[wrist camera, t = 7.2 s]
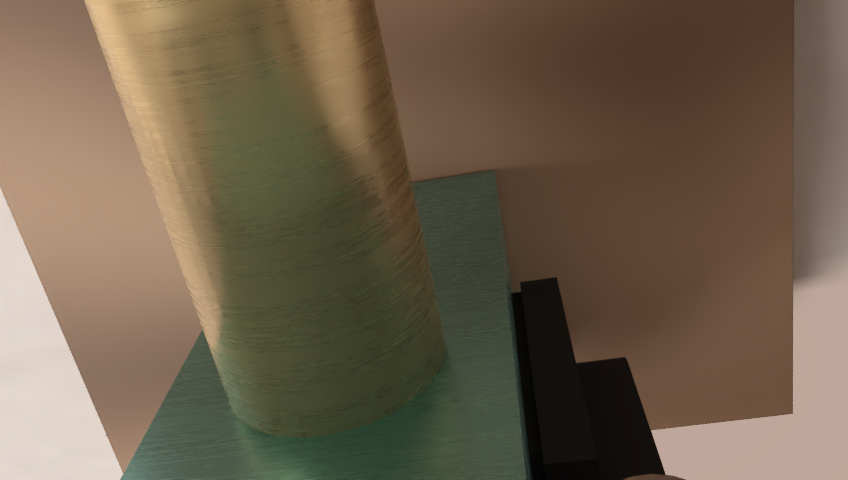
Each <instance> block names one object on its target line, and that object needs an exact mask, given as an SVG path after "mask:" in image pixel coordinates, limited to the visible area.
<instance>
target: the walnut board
mask: <svg viewBox="0 0 848 480" xmlns="http://www.w3.org/2000/svg"><path fill="white" fill-rule="evenodd" d="M374 1H375V6H376V10H377V15H378V20H379V25H380V30H381V34H382V39H383V44H384V49H385V54H386V58H387V63H388V68H389V73H390V78H391V83H392V87H393V92H394V97H395V102H396V107H397V111H398V116H399V121H400V126H401V131H402V135H403V140H404V145H405V150H406V155H407V159H408V164H409V169H410V174H411V179H412V183H416V182H422V181H429V180H435V179H441V178H448V177H454V176H460V175H466V174H473V173H479V172H485V171H492V170H495V176H496V182H497V188H498V195H499V201H500V207H501V214H502V220H503V226H504V232H505V239H506V245H507V251H508V258H509V264H510V270H511V277H512V283H513V289H514V293H516V292H521V287H520V282H525V281H532V280H539V279H546V278H553V277H557V280H558V285H559V289H560V294H561V298H562V302H563V307H564V311H565V316H566V320H567V325H568V329H569V334H570V338H571V342H572V347H573V351H574V356H575V360H576V363H581V362H589V361H596V360H604V359H612V358H620V357H625V358H626V359H627V361H628V364H629V367H630V370H631V373H632V376H633V379H634V382H635V385H636V388H637V391H638V394H639V397H640V400H641V403H642V406H643V409H644V412H645V415H646V418H647V421H648V424H649V427H650V430H656V429H665V428H673V427H682V426H691V425H698V424H708V423H716V422H725V421H734V420H742V419H751V418H760V417H768V416H777V415H784V414H792V413H793V86H794V0H374ZM0 188H1V190H2V192H3V194H4V197H5V199H6V201H7V204H8V206H9V208H10V211H11V213H12V215H13V218H14V220H15V222H16V225H17V227H18V229H19V232H20V234H21V236H22V239H23V241H24V243H25V246H26V248H27V250H28V253H29V255H30V257H31V260H32V262H33V264H34V267H35V269H36V271H37V274H38V276H39V278H40V281H41V283H42V285H43V288H44V290H45V292H46V295H47V297H48V299H49V302H50V304H51V306H52V309H53V311H54V313H55V316H56V318H57V320H58V323H59V325H60V327H61V330H62V332H63V334H64V337H65V339H66V341H67V344H68V346H69V348H70V351H71V353H72V355H73V357H74V360H75V362H76V364H77V367H78V369H79V371H80V374H81V376H82V378H83V381H84V383H85V385H86V388H87V390H88V392H89V395H90V397H91V399H92V402H93V404H94V406H95V409H96V411H97V413H98V416H99V418H100V420H101V423H102V425H103V427H104V430H105V432H106V434H107V437H108V439H109V441H110V444H111V446H112V448H113V451H114V453H115V455H116V458H117V460H118V462H119V465H120V467H121V469H122V472H123V474H124V472H125V470H126V468H127V467H128V465H129V463H130V461H131V459H132V457H133V456H134V454H135V452H136V450H137V448H138V446H139V445H140V443H141V441H142V439H143V437H144V435H145V434H146V432H147V430H148V428H149V426H150V424H151V423H152V421H153V419H154V417H155V415H156V413H157V412H158V410H159V408H160V406H161V404H162V402H163V401H164V399H165V397H166V395H167V393H168V391H169V390H170V388H171V386H172V384H173V382H174V380H175V379H176V377H177V375H178V373H179V371H180V369H181V368H182V366H183V364H184V362H185V360H186V358H187V357H188V355H189V353H190V351H191V349H192V347H193V346H194V344H195V342H196V340H197V338H198V336H199V335H200V333H201V331H202V329H203V328H202V326H201V323H200V320H199V317H198V314H197V312H196V309H195V306H194V303H193V301H192V298H191V295H190V292H189V289H188V287H187V284H186V281H185V278H184V276H183V273H182V270H181V267H180V265H179V262H178V259H177V256H176V253H175V251H174V248H173V245H172V242H171V240H170V237H169V234H168V231H167V229H166V226H165V223H164V220H163V217H162V215H161V212H160V209H159V206H158V204H157V201H156V198H155V195H154V193H153V190H152V187H151V184H150V181H149V179H148V176H147V173H146V170H145V168H144V165H143V162H142V159H141V156H140V154H139V151H138V148H137V145H136V143H135V140H134V137H133V134H132V132H131V129H130V126H129V123H128V120H127V118H126V115H125V112H124V109H123V107H122V104H121V101H120V98H119V96H118V93H117V90H116V87H115V84H114V82H113V79H112V76H111V73H110V71H109V68H108V65H107V62H106V59H105V57H104V54H103V51H102V48H101V46H100V43H99V40H98V37H97V35H96V32H95V29H94V26H93V23H92V21H91V18H90V15H89V12H88V10H87V7H86V4H85V1H84V0H0Z"/></svg>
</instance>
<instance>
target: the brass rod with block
mask: <svg viewBox="0 0 848 480" xmlns="http://www.w3.org/2000/svg"><path fill="white" fill-rule="evenodd" d="M84 1H85V4H86V7H87V10H88V12H89V15H90V18H91V21H92V23H93V26H94V29H95V32H96V35H97V37H98V40H99V43H100V46H101V48H102V51H103V54H104V57H105V59H106V62H107V65H108V68H109V71H110V73H111V76H112V79H113V82H114V84H115V87H116V90H117V93H118V96H119V98H120V101H121V104H122V107H123V109H124V112H125V115H126V118H127V120H128V123H129V126H130V129H131V132H132V134H133V137H134V140H135V143H136V145H137V148H138V151H139V154H140V156H141V159H142V162H143V165H144V168H145V170H146V173H147V176H148V179H149V181H150V184H151V187H152V190H153V193H154V195H155V198H156V201H157V204H158V206H159V209H160V212H161V215H162V217H163V220H164V223H165V226H166V229H167V231H168V234H169V237H170V240H171V242H172V245H173V248H174V251H175V253H176V256H177V259H178V262H179V265H180V267H181V270H182V273H183V276H184V278H185V281H186V284H187V287H188V289H189V292H190V295H191V298H192V301H193V303H194V306H195V309H196V312H197V314H198V317H199V320H200V323H201V326H202V328H203V329H202V331H201V333H200V335H199V336H198V338H197V340H196V342H195V344H194V346H193V347H192V349H191V351H190V353H189V355H188V357H187V358H186V360H185V362H184V364H183V366H182V368H181V369H180V371H179V373H178V375H177V377H176V379H175V380H174V382H173V384H172V386H171V388H170V390H169V391H168V393H167V395H166V397H165V399H164V401H163V402H162V404H161V406H160V408H159V410H158V412H157V413H156V415H155V417H154V419H153V421H152V423H151V424H150V426H149V428H148V430H147V432H146V434H145V435H144V437H143V439H142V441H141V443H140V445H139V446H138V448H137V450H136V452H135V454H134V456H133V457H132V459H131V461H130V463H129V465H128V467H127V468H126V470H125V472H124V474H123V476H122V478H121V480H533V478H532V471H531V464H530V456H529V448H528V439H527V430H526V421H525V411H524V402H523V393H522V384H521V375H520V366H519V357H518V347H517V338H516V329H515V320H514V311H513V302H512V293H514V289H513V283H512V277H511V270H510V264H509V258H508V251H507V245H506V239H505V232H504V226H503V220H502V214H501V207H500V201H499V195H498V188H497V182H496V176H495V170H492V171H485V172H479V173H473V174H466V175H460V176H454V177H448V178H441V179H435V180H429V181H422V182H416V183H412V179H411V174H410V169H409V164H408V159H407V155H406V150H405V145H404V140H403V135H402V131H401V126H400V121H399V116H398V111H397V107H396V102H395V97H394V92H393V87H392V83H391V78H390V73H389V68H388V63H387V58H386V54H385V49H384V44H383V39H382V34H381V30H380V25H379V20H378V15H377V10H376V6H375V1H374V0H84Z"/></svg>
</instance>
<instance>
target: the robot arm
mask: <svg viewBox="0 0 848 480" xmlns="http://www.w3.org/2000/svg"><path fill="white" fill-rule="evenodd" d="M520 287H521V292H516V293H512V302H513V311H514V320H515V329H516V338H517V347H518V357H519V366H520V375H521V384H522V393H523V402H524V411H525V421H526V430H527V439H528V448H529V456H530V464H531V471H532V478H533V480H685V479H682V478H678V477H675V476H669V475H665V472H664V469H663V466H662V463H661V460H660V457H659V454H658V451H657V448H656V445H655V442H654V439H653V436H652V433H651V430H650V427H649V424H648V421H647V418H646V415H645V412H644V409H643V406H642V403H641V400H640V397H639V394H638V391H637V388H636V385H635V382H634V379H633V376H632V373H631V370H630V367H629V364H628V361H627V359H626V358H625V357H620V358H612V359H604V360H596V361H589V362H581V363H576V360H575V356H574V351H573V347H572V342H571V338H570V334H569V329H568V325H567V320H566V316H565V311H564V307H563V302H562V298H561V294H560V289H559V285H558V280H557V277H553V278H546V279H539V280H532V281H525V282H520Z"/></svg>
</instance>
